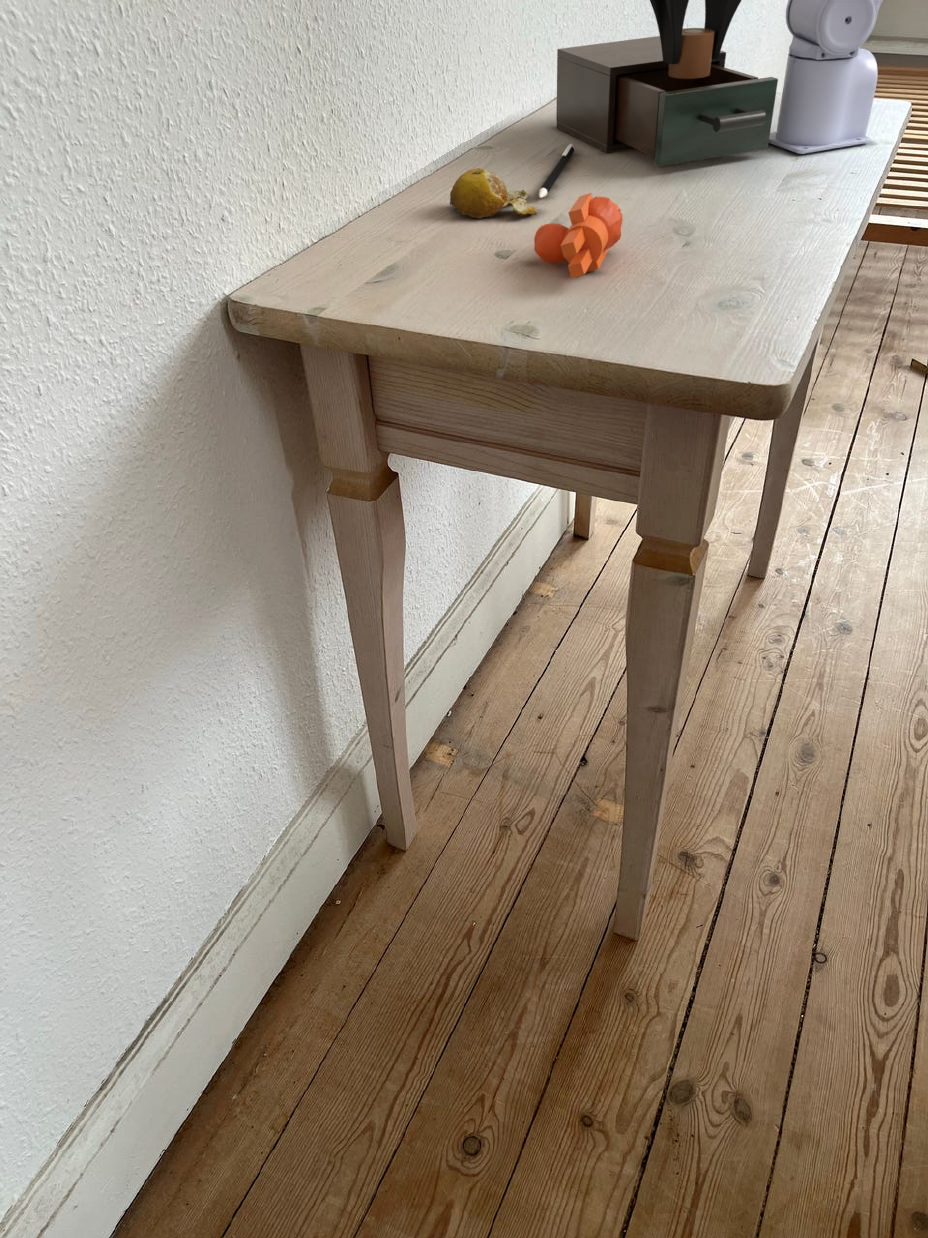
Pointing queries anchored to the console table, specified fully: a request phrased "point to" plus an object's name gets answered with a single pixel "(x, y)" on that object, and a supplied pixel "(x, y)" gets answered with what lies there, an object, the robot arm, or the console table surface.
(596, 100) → the cabinet
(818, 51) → the robot arm
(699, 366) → the console table surface
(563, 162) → the pen
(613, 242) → the orange chunky figure
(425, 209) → the console table surface
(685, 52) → the brown short cylinder
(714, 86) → the drawer
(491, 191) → the fruit
